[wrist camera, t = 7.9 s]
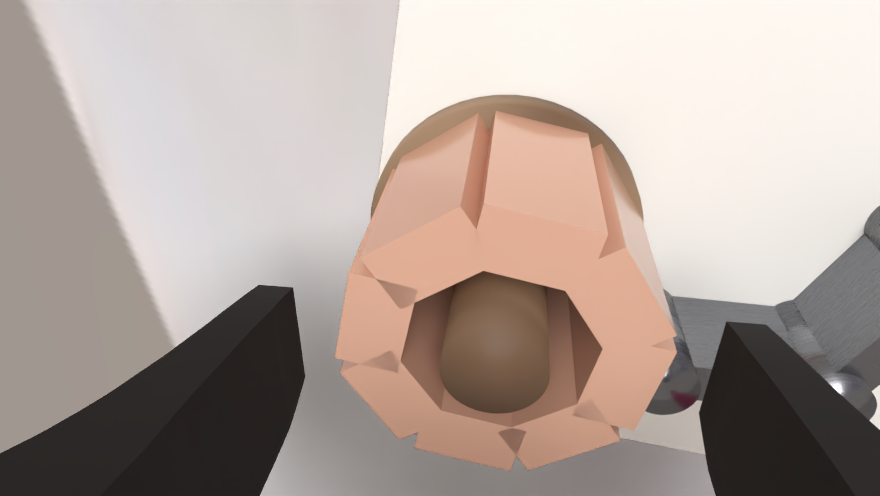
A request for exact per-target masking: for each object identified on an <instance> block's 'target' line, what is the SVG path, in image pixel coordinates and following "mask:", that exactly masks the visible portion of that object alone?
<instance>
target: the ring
mask: <svg viewBox="0 0 880 496" xmlns="http://www.w3.org/2000/svg"><path fill="white" fill-rule="evenodd" d="M482 271H486V272H490V273H495V274H499V275H503V276H507V277H511V278H515V279H519V280H523V281H527V282H531V283H535V284H539V285H544V286H547V310H548V337H549V364H550V379H549V383H548V386H547V389H546V391H545V392H544V394H543V395H542V396H541V397H540V398H539V399H538V400H537V401H536V402H535V403H533V404H532V405H530V406H528V407H526V408H524V409H521V410H519V411H515V412H511V413H500V414H496V413H486V412H481V411H477V410H474V409H471V408H469V407H467V406H465V405H463V404H461V403H460V402H458V401H457V400H456V399H454V398H453V397H452V396H451V395H450V394H449V392H448V391H447V390H446V389H445V387H444V385H443V383H442V380H441V377H440V369H439V368H440V361H441V355H442V349H443V344H444V338H445V332H446V326H447V321H448V315H449V309H450V303H451V298H452V292H453V286H454V284H456V283H458V282H461V281H463V280H465V279H467V278H469V277H471V276H474V275H476V274H478V273H480V272H482ZM675 336H677V334H676V330H675V327H674V324H673V320H672V317H671V314H670V310H669V307H668V304H667V300H666V297H665V294H664V290H663V287H662V284H661V280H660V277H659V274H658V270H657V267H656V264H655V260H654V257H653V254H652V250H651V247H650V244H649V240H648V237H647V233H646V230H645V227H644V223H643V220H642V217H641V215H640V213H639V211H638V209H637V207H636V205H635V204H634V202H633V200H632V198H631V196H630V195H629V193H628V191H627V189H626V187H625V185H624V184H623V182H622V180H621V178H620V176H619V174H618V173H617V171H616V169H615V167H614V165H613V164H612V162H611V160H610V158H609V156H608V154H607V153H606V151H605V149H604V147H603V145H602V143H601V144H599V145H598V146H596V147H594V148H592V149H591V145H590V140H589V135H588V133H584V132H580V131H576V130H572V129H568V128H564V127H560V126H556V125H552V124H548V123H544V122H540V121H536V120H532V119H528V118H524V117H520V116H515V115H511V114H507V113H503V112H499V111H496V112H495V116H494V119H493V123H492V127H491V130H490V131H489V129H488V127H487V126H486V124H485V123H484V121H483V119H482V118H481V116H480V115H479V113H478V114H476V115H474V116H472V117H471V118H469V119H467V120H465V121H464V122H462V123H460V124H458V125H456V126H455V127H453V128H451V129H449V130H448V131H446V132H444V133H442V134H441V135H439V136H437V137H435V138H434V139H432V140H430V141H428V142H427V143H425V144H423V145H421V146H420V147H418V148H416V149H414V150H413V151H411V152H409V153H407V154H406V155H404V156H402V157H401V159H400V162H399V164H398V167H397V169H392V172H391V174H390V177H389V179H388V181H387V184H386V186H385V188H384V191H383V193H382V195H381V198H380V200H379V202H378V205H377V207H376V209H375V212H374V214H373V216H372V219H371V221H370V224H369V226H368V228H367V231H366V233H365V235H364V238H363V240H362V242H361V245H360V247H359V249H358V252H357V254H356V256H355V259H354V261H353V264H352V266H351V268H350V271H349V274H348V280H347V286H346V292H345V298H344V304H343V310H342V316H341V322H340V328H339V334H338V340H337V346H336V352H335V358H337V359H341V360H344V362H343V365H342V367H341V370H340V374H341V375H342V376H343V377H344V378H345V379H346V381H347V382H348V383H349V384H350V385H351V386H352V387H353V388H354V390H355V391H356V392H357V393H358V394H359V395H360V396H361V397H362V399H363V400H364V401H365V402H366V403H367V404H368V405H369V406H370V408H371V409H372V410H373V411H374V412H375V413H376V414H377V415H378V417H379V418H380V419H381V420H382V421H383V422H384V423H385V424H386V426H387V427H388V428H389V429H390V430H391V431H392V432H393V433H394V435H395V436H396V437H397V438H398V439H402V438H405V437H407V436H410V435H413V434H415V433H417V436H416V441H415V446H414V448H416V449H420V450H424V451H428V452H432V453H436V454H441V455H445V456H449V457H453V458H457V459H461V460H465V461H470V462H474V463H478V464H482V465H486V466H490V467H494V468H499V469H503V470H507V471H510V470H511V467H512V465H513V462H514V460H515V458H516V456H517V457H518V459H519V460H520V461H521V463H522V464H523V465H524V466H525V468H526V469H527V470H528V471H529V470H532V469H535V468H538V467H541V466H544V465H547V464H550V463H553V462H557V461H560V460H563V459H566V458H569V457H572V456H575V455H578V454H581V453H584V452H588V451H591V450H594V449H597V448H600V447H603V446H606V445H609V444H612V443H615V442H619V441H621V440H620V433H619V427H621V428H626V429H630V430H635V428H636V427H637V425H638V423H639V421H640V419H641V418H642V416H643V414H644V412H645V410H646V408H647V407H648V405H649V403H650V401H651V399H652V397H653V396H654V394H655V392H656V390H657V388H658V386H659V385H660V383H661V381H662V379H663V377H664V376H665V374H666V372H667V370H668V368H669V366H670V365H671V363H672V361H673V359H674V357H675V355H676V354H677V350H676V347H675V344H674V340H673V337H675Z"/></svg>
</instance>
